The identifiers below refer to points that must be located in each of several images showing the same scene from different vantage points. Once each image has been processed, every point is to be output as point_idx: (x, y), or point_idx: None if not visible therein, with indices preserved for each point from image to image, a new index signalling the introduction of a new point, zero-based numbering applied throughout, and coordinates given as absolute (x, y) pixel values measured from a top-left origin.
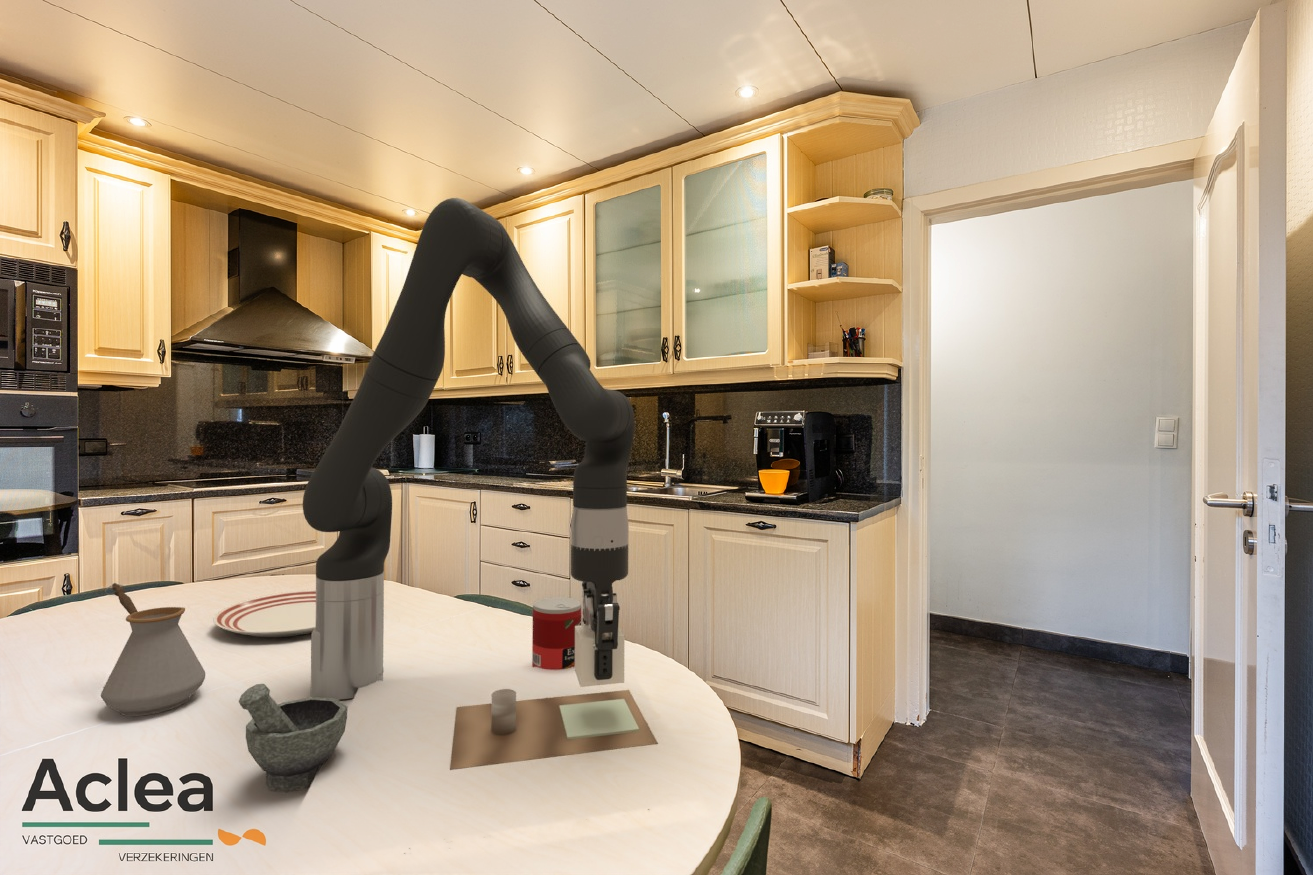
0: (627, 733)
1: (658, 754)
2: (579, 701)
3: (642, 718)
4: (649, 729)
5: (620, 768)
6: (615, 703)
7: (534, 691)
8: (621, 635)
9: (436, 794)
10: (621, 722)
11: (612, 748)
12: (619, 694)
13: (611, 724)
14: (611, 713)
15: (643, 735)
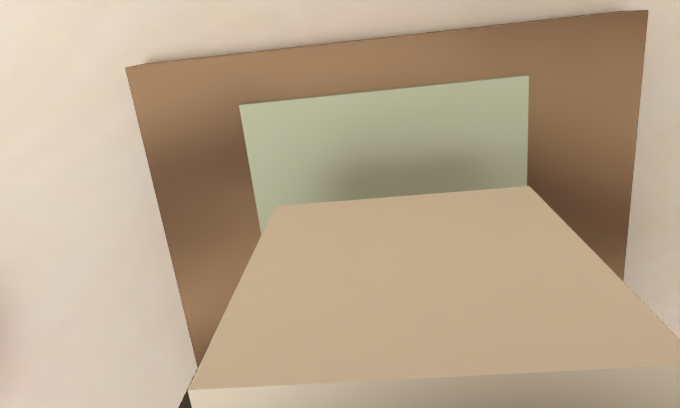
0: (533, 123)
1: (613, 6)
2: (234, 273)
3: (418, 44)
4: (520, 27)
5: (658, 155)
6: (282, 146)
7: (78, 383)
8: (676, 391)
9: None
10: (457, 140)
11: (628, 190)
12: (176, 116)
13: (466, 180)
14: (371, 171)
15: (564, 61)
